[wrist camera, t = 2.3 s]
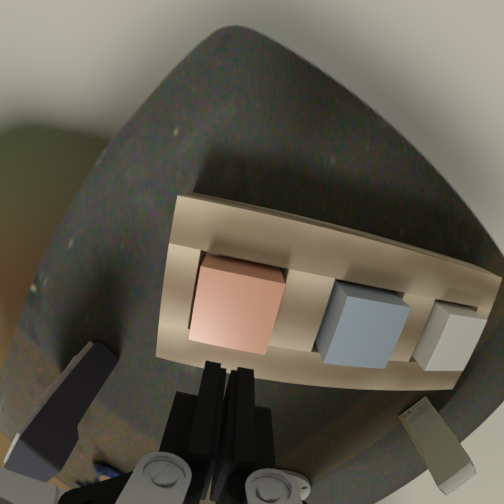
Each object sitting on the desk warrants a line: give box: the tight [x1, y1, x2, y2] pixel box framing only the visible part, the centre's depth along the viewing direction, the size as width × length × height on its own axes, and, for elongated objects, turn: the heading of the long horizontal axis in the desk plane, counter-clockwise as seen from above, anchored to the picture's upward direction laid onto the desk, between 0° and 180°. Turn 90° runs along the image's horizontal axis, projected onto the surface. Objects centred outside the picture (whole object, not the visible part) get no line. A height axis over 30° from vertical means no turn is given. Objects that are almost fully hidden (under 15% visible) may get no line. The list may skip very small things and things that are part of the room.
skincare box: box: [398, 396, 476, 495], centre depth 23 cm, size 6×4×12 cm
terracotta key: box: [189, 254, 285, 355], centre depth 19 cm, size 5×5×3 cm
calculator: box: [4, 341, 119, 483], centre depth 20 cm, size 11×4×15 cm, turn 136°
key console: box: [156, 192, 502, 390], centre depth 23 cm, size 12×28×5 cm, turn 77°
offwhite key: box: [412, 300, 487, 371], centre depth 20 cm, size 5×5×3 cm
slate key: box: [315, 280, 411, 369], centre depth 20 cm, size 5×5×3 cm
